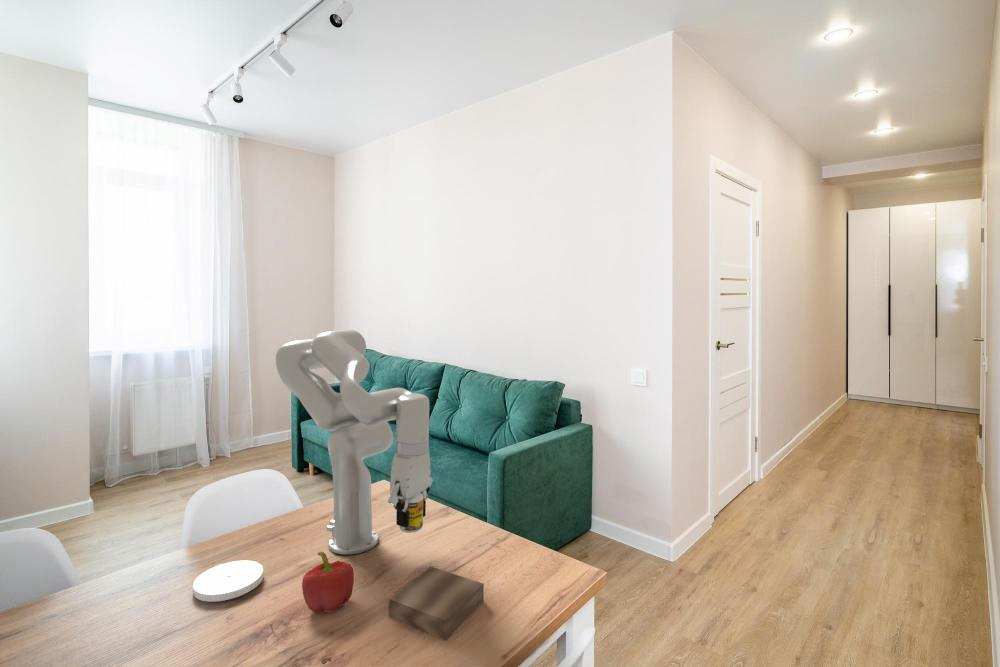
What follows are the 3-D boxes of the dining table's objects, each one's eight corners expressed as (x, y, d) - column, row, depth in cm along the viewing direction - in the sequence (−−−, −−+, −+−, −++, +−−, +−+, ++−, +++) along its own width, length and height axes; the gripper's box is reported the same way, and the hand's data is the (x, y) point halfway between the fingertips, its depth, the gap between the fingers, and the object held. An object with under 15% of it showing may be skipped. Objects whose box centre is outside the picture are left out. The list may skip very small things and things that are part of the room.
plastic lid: (231, 566, 123) (231, 556, 123) (277, 576, 118) (277, 566, 118) (177, 598, 110) (177, 587, 110) (227, 612, 105) (226, 600, 105)
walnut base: (389, 617, 103) (388, 598, 103) (430, 583, 115) (430, 566, 115) (445, 640, 96) (445, 620, 96) (483, 601, 108) (483, 583, 108)
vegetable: (295, 601, 108) (294, 556, 108) (343, 584, 115) (342, 542, 114) (311, 628, 100) (310, 579, 99) (362, 608, 106) (361, 562, 105)
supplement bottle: (404, 536, 117) (405, 493, 116) (395, 526, 122) (396, 485, 121) (426, 530, 120) (427, 488, 119) (417, 520, 125) (417, 480, 124)
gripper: (422, 434, 128) (421, 503, 130) (374, 453, 113) (374, 531, 115) (446, 440, 125) (445, 510, 126) (400, 460, 110) (399, 540, 112)
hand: (411, 519), depth 121 cm, fingers closed on supplement bottle, 5 cm apart
